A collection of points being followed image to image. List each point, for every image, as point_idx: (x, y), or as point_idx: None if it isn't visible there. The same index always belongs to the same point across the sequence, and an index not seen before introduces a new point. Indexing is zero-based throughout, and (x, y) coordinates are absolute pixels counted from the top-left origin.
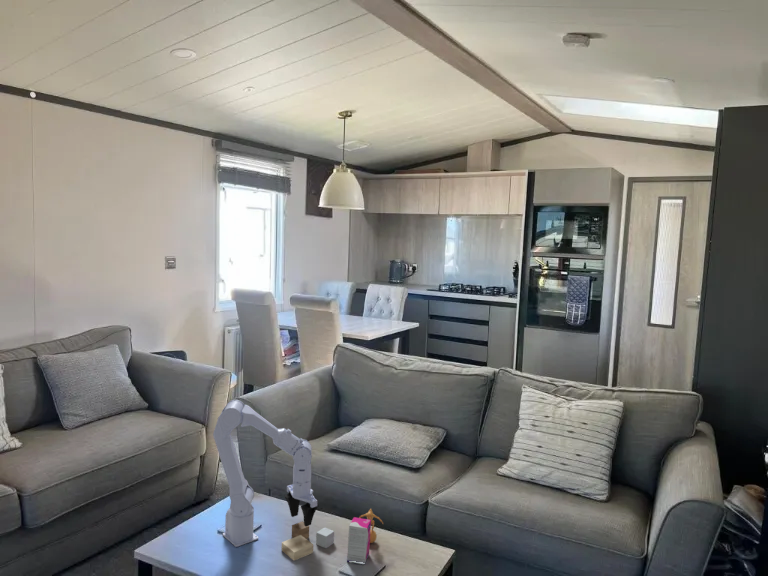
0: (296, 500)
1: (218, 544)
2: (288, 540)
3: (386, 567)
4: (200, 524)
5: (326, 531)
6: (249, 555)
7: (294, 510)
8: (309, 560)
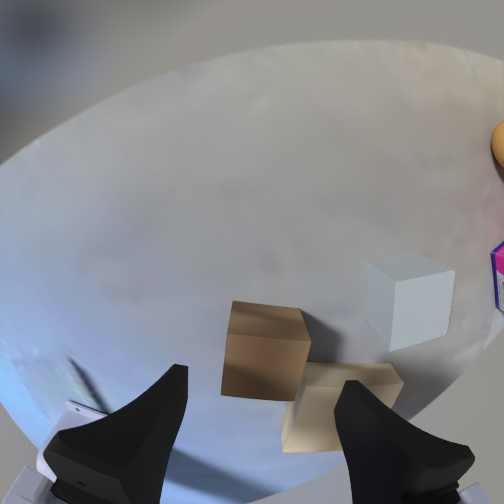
0: (152, 463)
1: None
2: (294, 435)
3: None
4: (26, 424)
5: (427, 304)
6: (225, 475)
7: (177, 416)
8: (402, 393)
